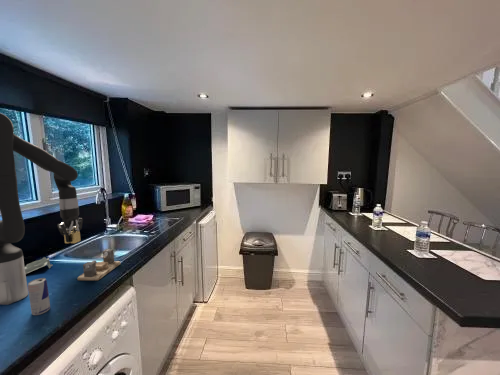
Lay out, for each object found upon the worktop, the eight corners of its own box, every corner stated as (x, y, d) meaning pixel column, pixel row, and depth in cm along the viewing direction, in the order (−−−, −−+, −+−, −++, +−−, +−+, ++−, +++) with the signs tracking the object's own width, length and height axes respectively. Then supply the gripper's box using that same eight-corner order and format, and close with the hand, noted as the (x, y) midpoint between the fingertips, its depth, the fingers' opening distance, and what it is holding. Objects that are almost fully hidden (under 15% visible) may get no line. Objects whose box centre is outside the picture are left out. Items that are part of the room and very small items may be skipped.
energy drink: (54, 306, 93) (50, 277, 92) (42, 315, 88) (38, 284, 86) (39, 307, 93) (35, 278, 92) (27, 316, 88) (23, 285, 86)
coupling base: (98, 280, 113) (96, 263, 112) (77, 280, 113) (75, 263, 112) (120, 263, 131) (119, 248, 130) (102, 263, 131) (101, 248, 130)
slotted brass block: (80, 240, 123) (79, 231, 122) (74, 243, 119) (73, 233, 118) (71, 240, 123) (70, 231, 122) (64, 243, 119) (63, 233, 118)
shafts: (89, 268, 113) (88, 261, 113) (85, 268, 113) (84, 261, 113) (112, 254, 130) (111, 247, 130) (108, 254, 130) (108, 247, 130)
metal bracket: (50, 253, 134) (45, 262, 121) (55, 262, 135) (51, 272, 123) (17, 266, 127) (9, 277, 114) (23, 275, 128) (15, 287, 116)
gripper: (73, 204, 126) (76, 236, 128) (49, 210, 112) (53, 245, 114) (86, 204, 126) (90, 236, 128) (64, 210, 112) (68, 245, 113)
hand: (72, 240), depth 121 cm, fingers closed on slotted brass block, 4 cm apart
